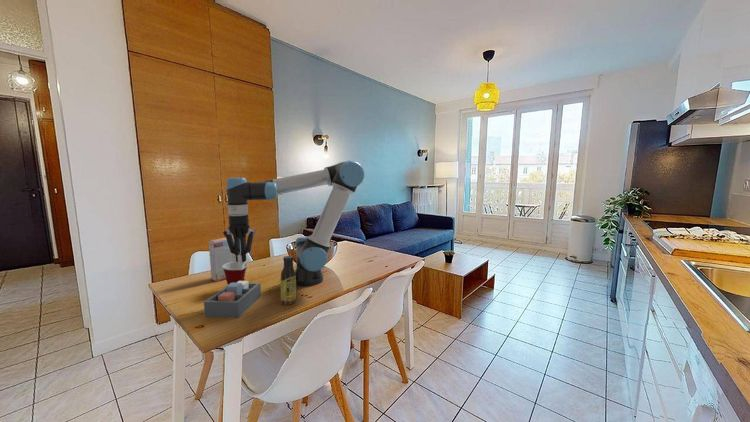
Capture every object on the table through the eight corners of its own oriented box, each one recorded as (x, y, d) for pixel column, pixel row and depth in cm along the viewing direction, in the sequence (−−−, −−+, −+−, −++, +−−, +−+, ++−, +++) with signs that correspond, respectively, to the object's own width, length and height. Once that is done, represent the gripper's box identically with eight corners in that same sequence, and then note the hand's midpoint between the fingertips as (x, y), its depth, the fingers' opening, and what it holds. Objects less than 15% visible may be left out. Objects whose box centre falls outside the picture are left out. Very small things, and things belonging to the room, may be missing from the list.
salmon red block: (235, 304, 114) (234, 292, 113) (229, 308, 110) (228, 296, 109) (224, 303, 114) (223, 291, 113) (218, 308, 110) (218, 296, 109)
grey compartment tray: (260, 295, 128) (260, 282, 127) (238, 317, 108) (238, 302, 107) (231, 295, 128) (231, 282, 127) (204, 317, 108) (203, 301, 107)
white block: (248, 291, 126) (248, 281, 125) (244, 295, 122) (243, 284, 121) (239, 291, 126) (239, 280, 125) (234, 295, 122) (234, 284, 121)
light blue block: (242, 294, 120) (241, 282, 119) (237, 298, 115) (236, 286, 115) (232, 294, 120) (231, 282, 119) (226, 298, 115) (226, 286, 115)
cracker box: (237, 272, 158) (235, 235, 156) (242, 274, 155) (241, 236, 153) (210, 279, 147) (208, 239, 145) (216, 282, 144) (213, 241, 141)
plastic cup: (238, 294, 129) (237, 269, 127) (218, 292, 131) (216, 267, 129) (253, 286, 139) (252, 262, 138) (234, 284, 141) (233, 260, 140)
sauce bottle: (287, 307, 117) (286, 260, 115) (277, 303, 121) (276, 257, 118) (299, 301, 123) (298, 256, 120) (289, 297, 126) (288, 254, 124)
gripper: (218, 215, 116) (221, 271, 119) (249, 215, 116) (252, 272, 119) (227, 213, 124) (231, 266, 126) (257, 213, 123) (260, 266, 126)
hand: (241, 269), depth 123 cm, fingers closed
